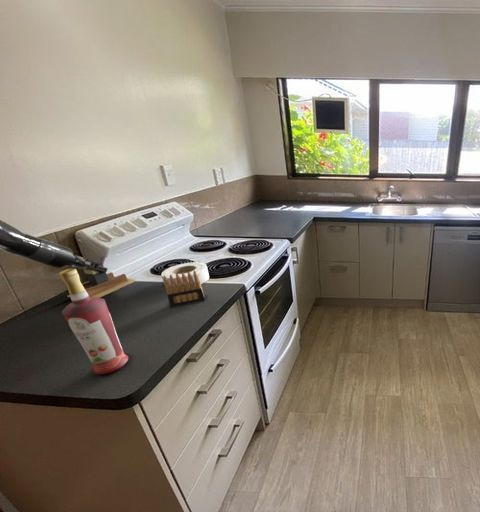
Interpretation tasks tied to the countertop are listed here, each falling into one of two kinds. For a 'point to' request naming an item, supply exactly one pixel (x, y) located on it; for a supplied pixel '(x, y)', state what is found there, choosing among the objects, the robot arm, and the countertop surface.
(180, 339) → the countertop surface
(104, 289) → the rack
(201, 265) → the tape roll
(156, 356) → the countertop surface
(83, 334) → the liquor
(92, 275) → the dark box with band
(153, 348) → the countertop surface
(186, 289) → the ammunition clip
